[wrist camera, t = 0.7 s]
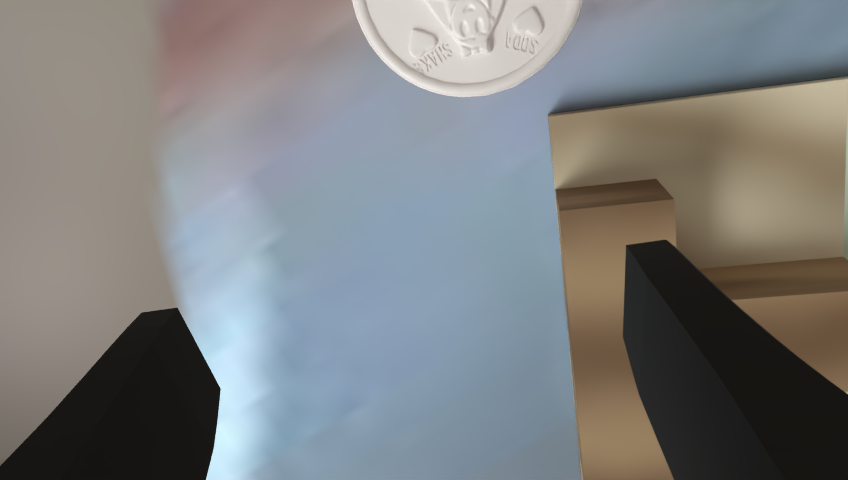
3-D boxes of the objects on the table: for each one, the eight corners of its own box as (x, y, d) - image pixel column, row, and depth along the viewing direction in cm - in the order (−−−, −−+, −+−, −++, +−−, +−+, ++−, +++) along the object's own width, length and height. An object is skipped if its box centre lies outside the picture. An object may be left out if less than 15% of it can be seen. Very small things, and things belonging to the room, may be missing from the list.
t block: (837, 431, 29) (878, 482, 26) (578, 442, 31) (585, 491, 28) (846, 158, 26) (892, 176, 23) (555, 189, 28) (559, 210, 25)
